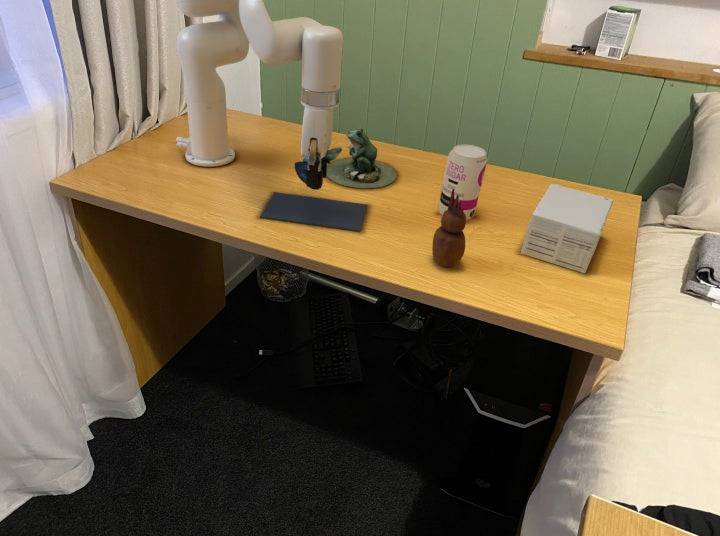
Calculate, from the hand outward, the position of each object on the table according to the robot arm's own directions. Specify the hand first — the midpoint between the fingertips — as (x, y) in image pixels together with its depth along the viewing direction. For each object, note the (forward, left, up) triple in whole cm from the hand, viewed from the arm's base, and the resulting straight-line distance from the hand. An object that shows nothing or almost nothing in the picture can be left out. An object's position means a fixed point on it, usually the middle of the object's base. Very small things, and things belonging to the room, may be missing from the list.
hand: (316, 181), depth 122 cm
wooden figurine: (+29, -13, -8) cm, 33 cm away
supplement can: (+31, +8, -8) cm, 33 cm away
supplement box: (+53, 0, -8) cm, 53 cm away
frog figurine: (+7, +23, -8) cm, 25 cm away
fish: (0, 0, -2) cm, 2 cm away
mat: (0, 0, -7) cm, 7 cm away
